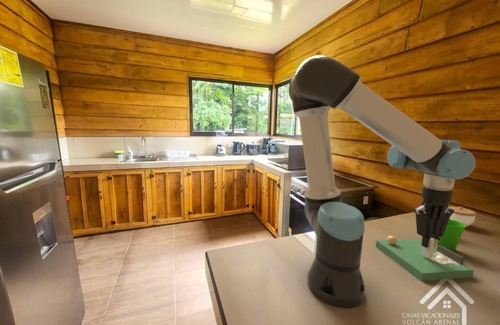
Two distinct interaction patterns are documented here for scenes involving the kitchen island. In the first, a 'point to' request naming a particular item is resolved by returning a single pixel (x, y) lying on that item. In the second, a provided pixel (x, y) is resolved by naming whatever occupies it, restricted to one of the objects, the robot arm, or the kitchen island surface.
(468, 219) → the lidded jar
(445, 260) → the ball
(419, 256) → the putting mat
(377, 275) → the kitchen island surface
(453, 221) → the cup
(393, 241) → the brown egg
